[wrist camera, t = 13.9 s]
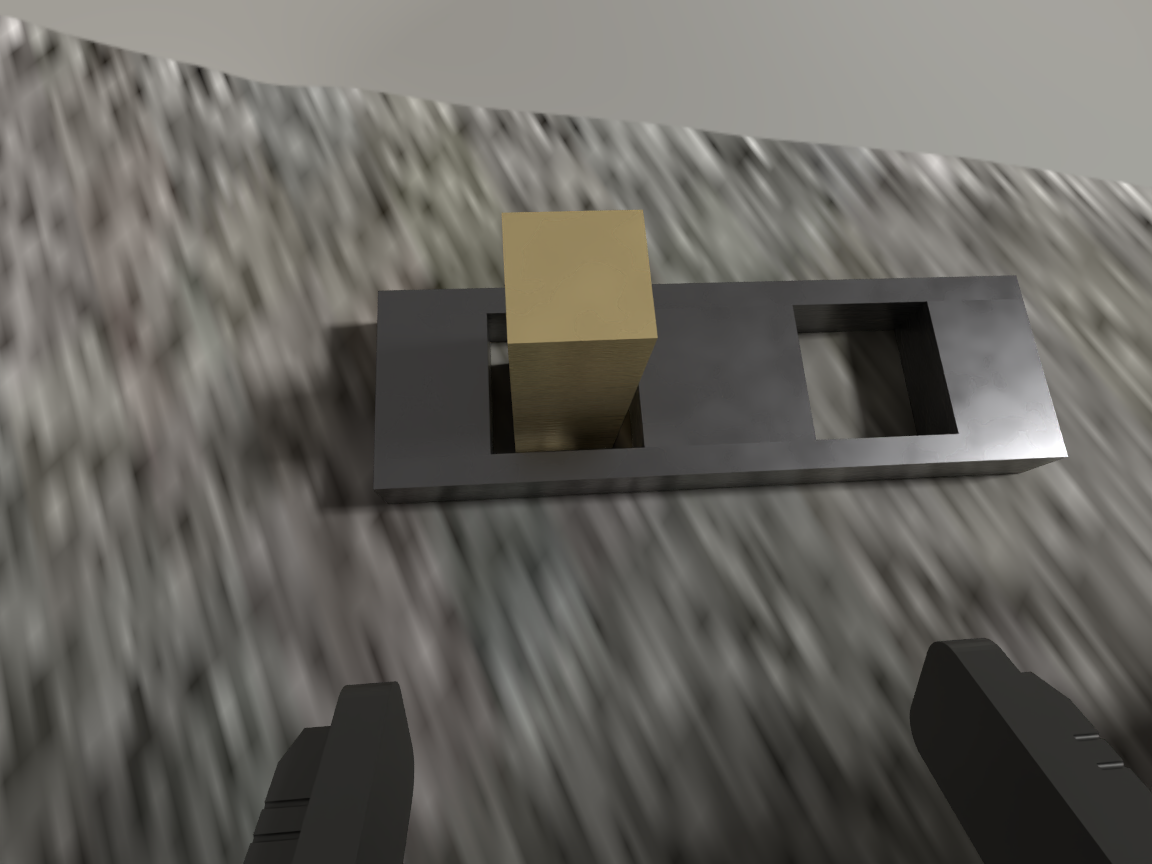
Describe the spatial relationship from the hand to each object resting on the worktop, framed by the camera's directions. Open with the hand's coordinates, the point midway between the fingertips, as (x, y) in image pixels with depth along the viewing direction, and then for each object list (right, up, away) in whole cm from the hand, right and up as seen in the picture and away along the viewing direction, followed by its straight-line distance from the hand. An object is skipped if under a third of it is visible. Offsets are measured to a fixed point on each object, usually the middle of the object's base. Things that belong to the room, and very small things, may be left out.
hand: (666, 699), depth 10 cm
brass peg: (-2, +5, +22) cm, 23 cm away
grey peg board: (+5, +6, +23) cm, 24 cm away
